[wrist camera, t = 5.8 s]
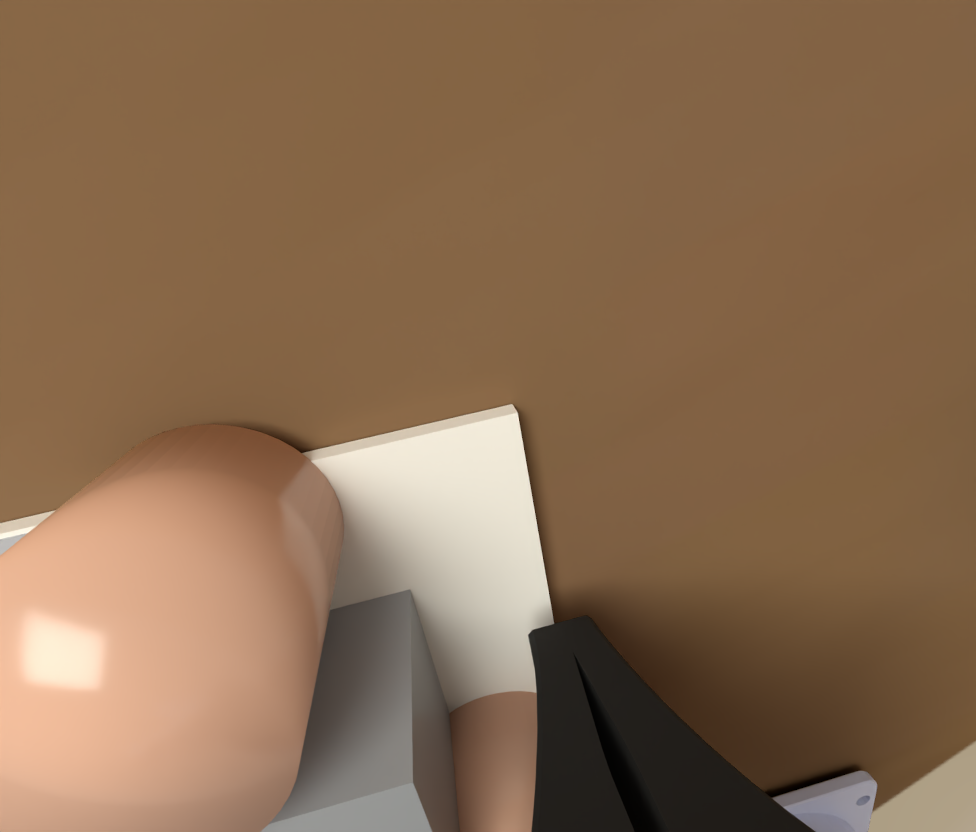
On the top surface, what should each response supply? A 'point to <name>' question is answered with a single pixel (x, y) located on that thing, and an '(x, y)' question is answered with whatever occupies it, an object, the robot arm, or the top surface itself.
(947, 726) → the top surface
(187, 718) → the peach glossy domed part
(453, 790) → the matte grey cube
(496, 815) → the peach rounded cylinder
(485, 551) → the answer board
